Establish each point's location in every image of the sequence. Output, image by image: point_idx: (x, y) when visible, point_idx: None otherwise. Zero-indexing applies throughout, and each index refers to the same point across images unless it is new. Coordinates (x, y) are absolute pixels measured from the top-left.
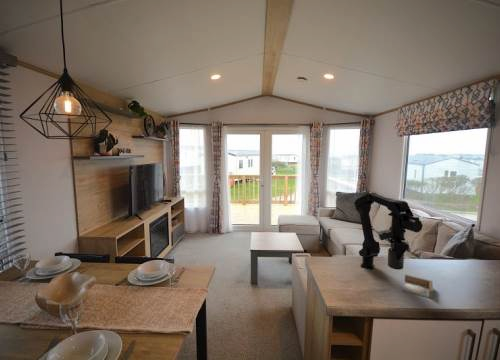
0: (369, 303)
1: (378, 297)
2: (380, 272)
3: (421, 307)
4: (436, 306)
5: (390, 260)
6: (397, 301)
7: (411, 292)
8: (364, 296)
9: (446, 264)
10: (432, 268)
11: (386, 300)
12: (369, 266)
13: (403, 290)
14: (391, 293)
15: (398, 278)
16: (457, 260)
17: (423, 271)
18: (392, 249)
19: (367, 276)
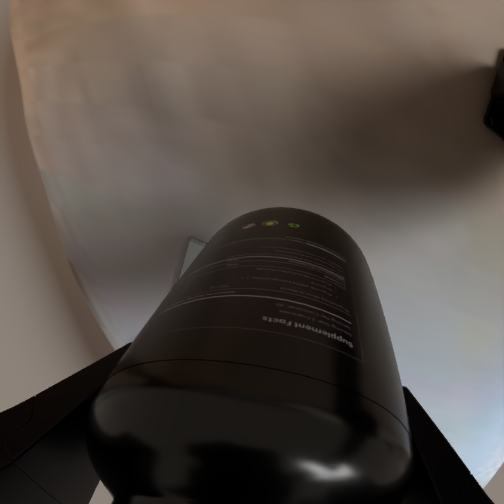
0: (25, 44)
1: (70, 76)
2: (452, 171)
3: (71, 260)
4: (108, 323)
5: (203, 260)
6: (68, 167)
7: (181, 275)
8: (64, 13)
9: (476, 465)
10: (465, 437)
11: (58, 114)
12: (502, 102)
13: (191, 239)
14: (129, 152)
15: (371, 272)
16: (486, 480)
17: (449, 411)
18: (123, 471)
19: (349, 32)
